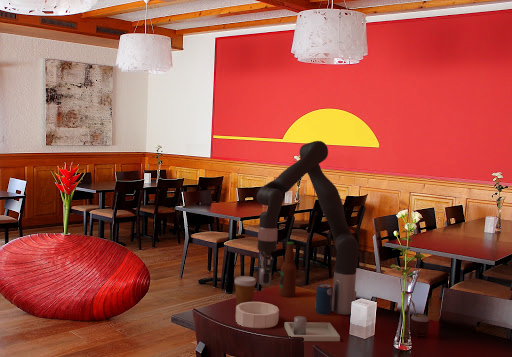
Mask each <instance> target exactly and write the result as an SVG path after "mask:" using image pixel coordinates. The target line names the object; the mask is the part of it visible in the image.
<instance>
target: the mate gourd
mask: <svg viewBox="0 0 512 357" xmlns="http://www.w3.org/2000/svg"><path fill="white" fill-rule="evenodd" d="M410 302H411V304H412V307H413V312H414V313H413V314H412V315H411V317H410V320H409V324H410V327H409V328H410V332H411V333H414V334H416V335H415V336H417V335H426V336H427V334H428V331H429V326H430V320H429V317H428V316H427V314H424V313H421V312H420V313H419V312H416V311H417V310H416V307H415V306H416V305H415V302H414V301H413V300H412V299H411V301H410ZM411 333H410V334H411Z"/></svg>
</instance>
